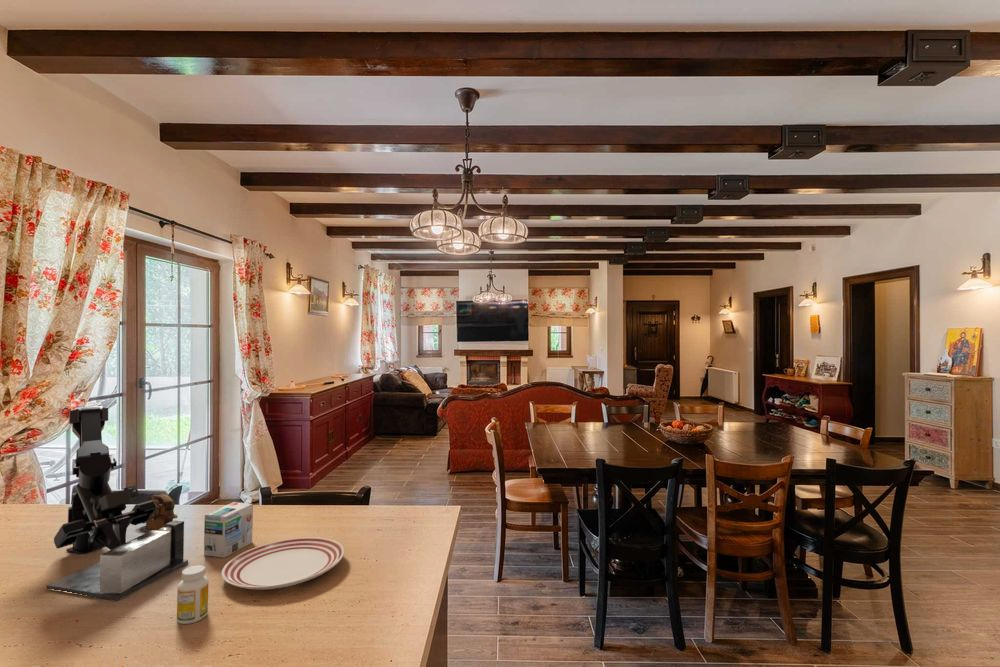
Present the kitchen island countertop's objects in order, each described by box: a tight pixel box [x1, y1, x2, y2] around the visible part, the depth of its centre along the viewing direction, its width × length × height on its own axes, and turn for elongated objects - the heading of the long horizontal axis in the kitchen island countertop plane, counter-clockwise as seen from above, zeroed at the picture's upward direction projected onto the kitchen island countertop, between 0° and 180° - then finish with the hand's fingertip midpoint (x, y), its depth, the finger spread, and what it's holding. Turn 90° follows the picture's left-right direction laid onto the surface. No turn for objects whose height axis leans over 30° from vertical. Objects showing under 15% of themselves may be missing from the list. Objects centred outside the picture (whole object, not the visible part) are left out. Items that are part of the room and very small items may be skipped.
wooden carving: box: [143, 493, 178, 531], centre depth 143 cm, size 16×5×10 cm, turn 67°
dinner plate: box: [220, 536, 345, 591], centre depth 118 cm, size 27×27×3 cm
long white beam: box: [99, 527, 171, 593], centre depth 113 cm, size 5×16×8 cm, turn 175°
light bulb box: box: [203, 501, 254, 559], centre depth 130 cm, size 11×7×11 cm, turn 168°
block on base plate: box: [45, 519, 189, 602], centre depth 115 cm, size 20×19×10 cm
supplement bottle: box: [176, 564, 209, 625], centre depth 98 cm, size 5×5×10 cm
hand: (122, 553), depth 111 cm, fingers closed
